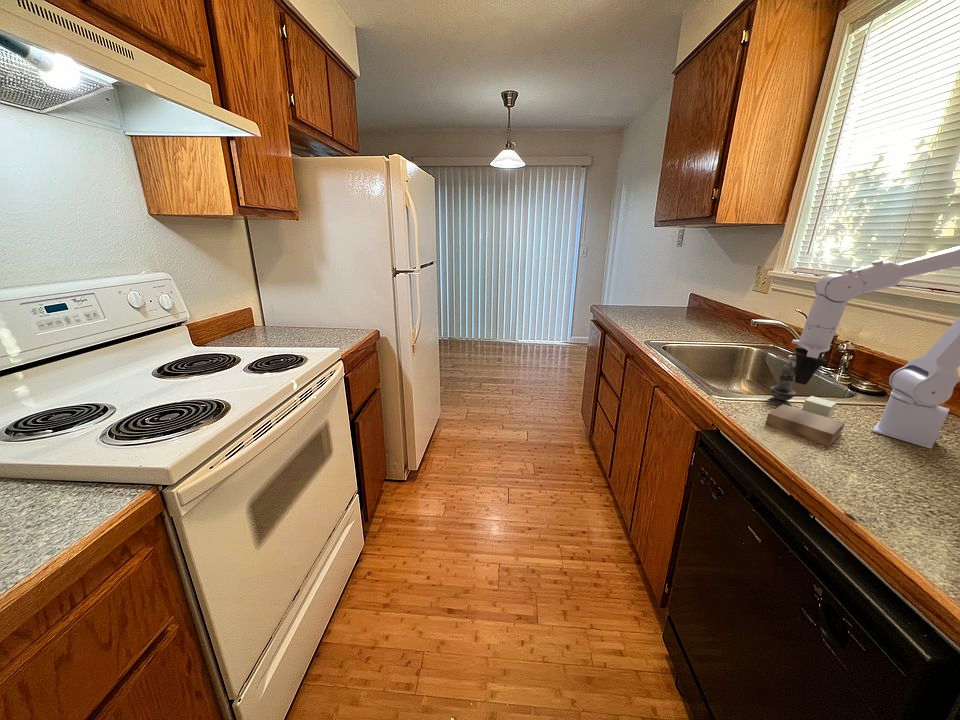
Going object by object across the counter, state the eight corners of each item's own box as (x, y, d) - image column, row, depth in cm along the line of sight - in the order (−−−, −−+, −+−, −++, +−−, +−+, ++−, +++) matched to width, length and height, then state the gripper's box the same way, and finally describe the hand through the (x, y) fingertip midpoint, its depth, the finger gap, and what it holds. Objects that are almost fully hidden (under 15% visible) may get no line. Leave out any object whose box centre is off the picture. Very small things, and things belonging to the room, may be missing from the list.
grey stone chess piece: (783, 398, 108) (795, 358, 105) (797, 407, 103) (811, 365, 99) (761, 397, 109) (773, 357, 105) (774, 405, 103) (787, 364, 100)
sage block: (829, 420, 96) (836, 402, 94) (824, 425, 93) (830, 407, 91) (805, 413, 99) (811, 395, 98) (799, 417, 97) (805, 399, 95)
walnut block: (840, 434, 89) (844, 422, 88) (828, 446, 83) (833, 434, 82) (779, 414, 98) (782, 404, 97) (765, 424, 92) (768, 413, 91)
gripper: (798, 318, 97) (780, 368, 101) (799, 326, 86) (779, 381, 90) (834, 324, 93) (814, 375, 97) (840, 334, 82) (817, 391, 87)
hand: (799, 379), depth 94 cm, fingers open, 7 cm apart
